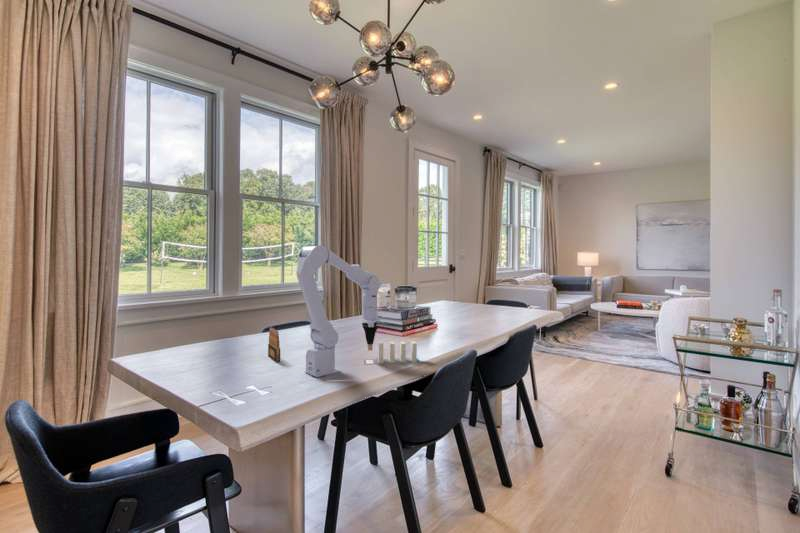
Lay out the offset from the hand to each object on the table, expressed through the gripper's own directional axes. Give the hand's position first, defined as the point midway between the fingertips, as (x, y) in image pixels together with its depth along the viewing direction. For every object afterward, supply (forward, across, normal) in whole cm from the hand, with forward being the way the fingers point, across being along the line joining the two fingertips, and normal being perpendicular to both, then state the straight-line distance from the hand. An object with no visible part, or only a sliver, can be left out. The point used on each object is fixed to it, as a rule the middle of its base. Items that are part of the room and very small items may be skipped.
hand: (369, 342), depth 154 cm
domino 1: (+7, 0, -4) cm, 8 cm away
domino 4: (+7, 0, -17) cm, 18 cm away
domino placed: (+2, 0, 0) cm, 2 cm away
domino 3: (+7, 0, -13) cm, 15 cm away
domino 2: (+7, 0, -8) cm, 11 cm away
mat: (+8, 0, -8) cm, 11 cm away
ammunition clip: (+8, +10, +37) cm, 39 cm away
